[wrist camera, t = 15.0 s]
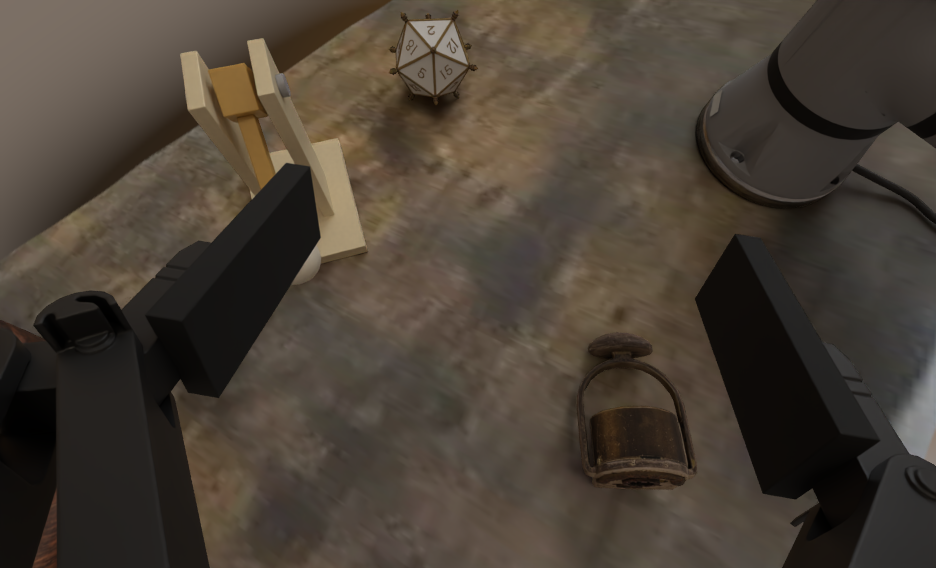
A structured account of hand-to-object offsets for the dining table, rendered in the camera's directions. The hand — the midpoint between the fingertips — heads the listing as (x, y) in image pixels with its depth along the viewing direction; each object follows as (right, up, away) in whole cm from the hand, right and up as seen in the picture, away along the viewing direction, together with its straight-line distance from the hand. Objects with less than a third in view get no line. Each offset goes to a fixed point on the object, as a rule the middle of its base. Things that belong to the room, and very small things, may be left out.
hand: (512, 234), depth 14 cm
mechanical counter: (+12, -13, +24) cm, 29 cm away
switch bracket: (-17, +6, +29) cm, 34 cm away
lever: (-15, +6, +17) cm, 24 cm away
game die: (-5, +19, +34) cm, 40 cm away
